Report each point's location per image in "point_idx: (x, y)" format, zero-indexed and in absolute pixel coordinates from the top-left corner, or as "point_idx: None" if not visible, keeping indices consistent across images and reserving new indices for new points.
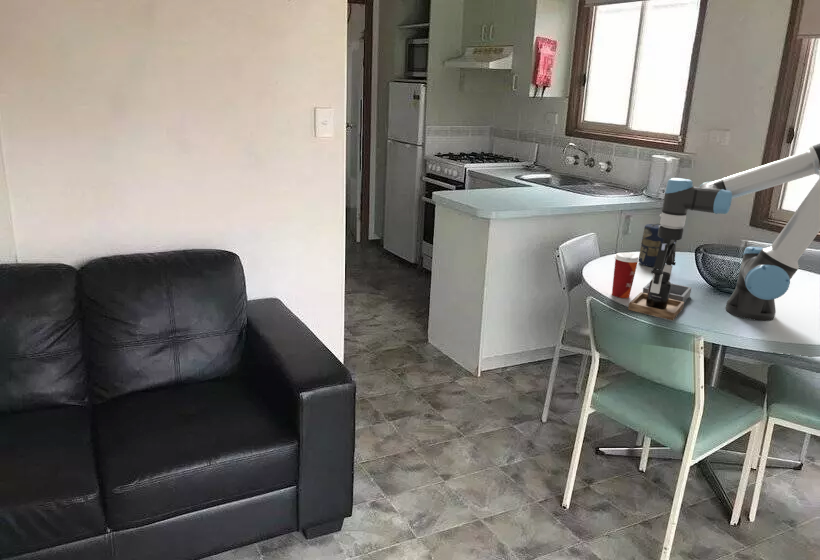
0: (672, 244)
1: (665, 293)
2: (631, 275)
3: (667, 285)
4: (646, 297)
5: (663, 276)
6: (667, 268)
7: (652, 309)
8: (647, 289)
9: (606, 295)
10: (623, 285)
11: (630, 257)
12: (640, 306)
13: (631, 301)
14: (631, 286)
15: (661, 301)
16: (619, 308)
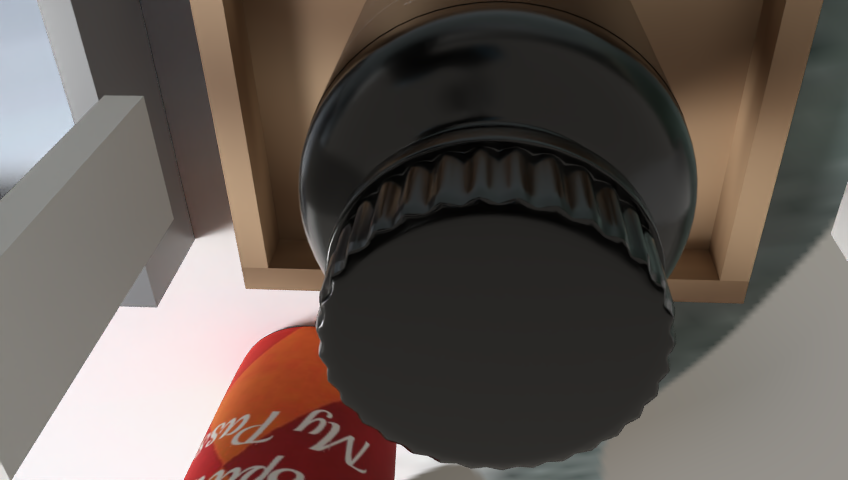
0: None
1: (625, 18)
2: None
3: (633, 75)
4: (271, 203)
5: (668, 286)
6: (17, 346)
7: (804, 38)
8: (147, 261)
9: (423, 459)
10: (384, 472)
11: None
12: (769, 182)
13: (678, 295)
14: (286, 407)
15: (630, 3)
16: (732, 317)
